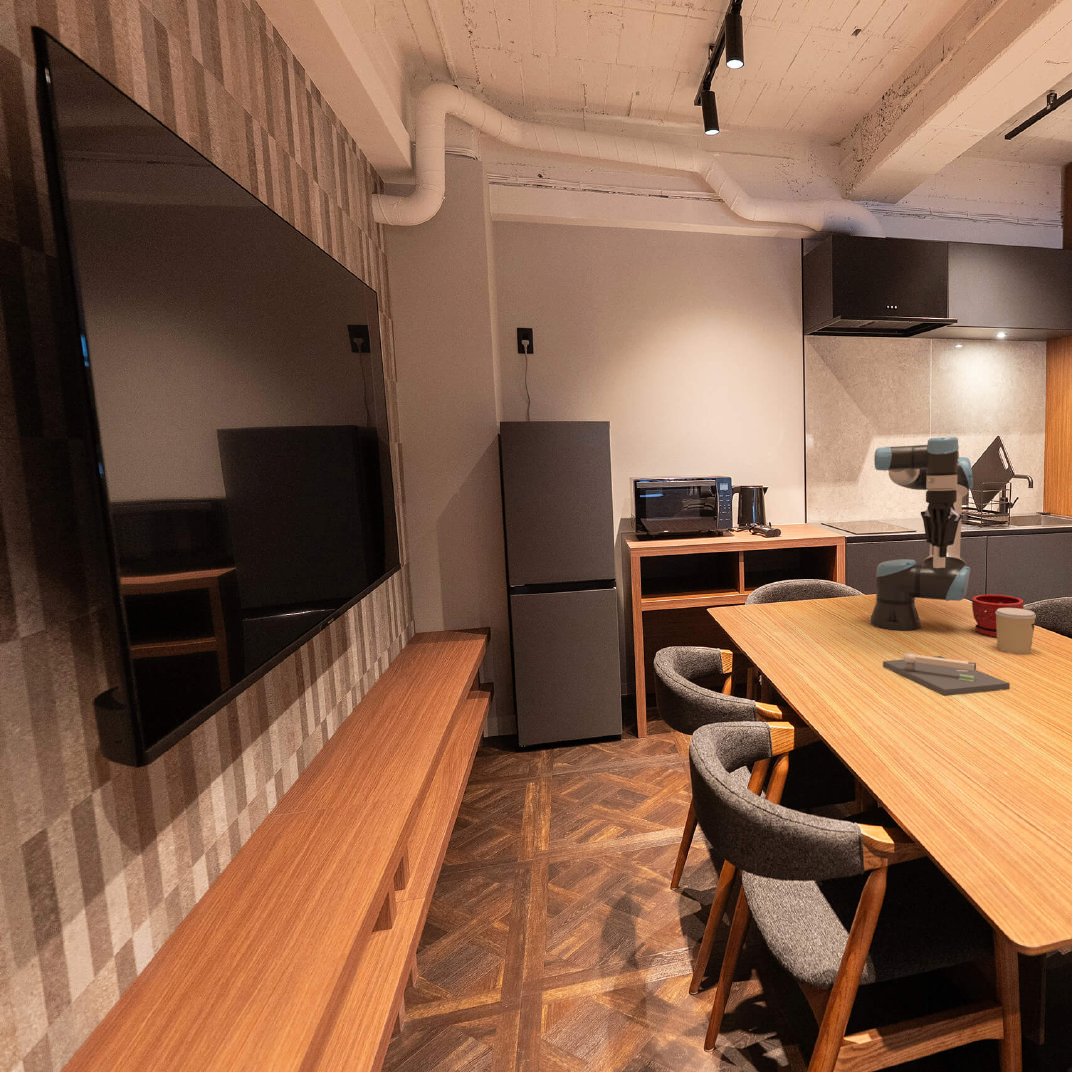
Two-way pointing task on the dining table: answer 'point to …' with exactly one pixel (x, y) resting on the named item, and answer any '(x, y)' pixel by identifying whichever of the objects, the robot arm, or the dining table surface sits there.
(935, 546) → the robot arm
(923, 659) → the knob-ended beige rod
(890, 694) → the dining table surface
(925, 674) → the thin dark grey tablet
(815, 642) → the dining table surface
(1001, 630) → the coffee cup
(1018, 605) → the plant pot
